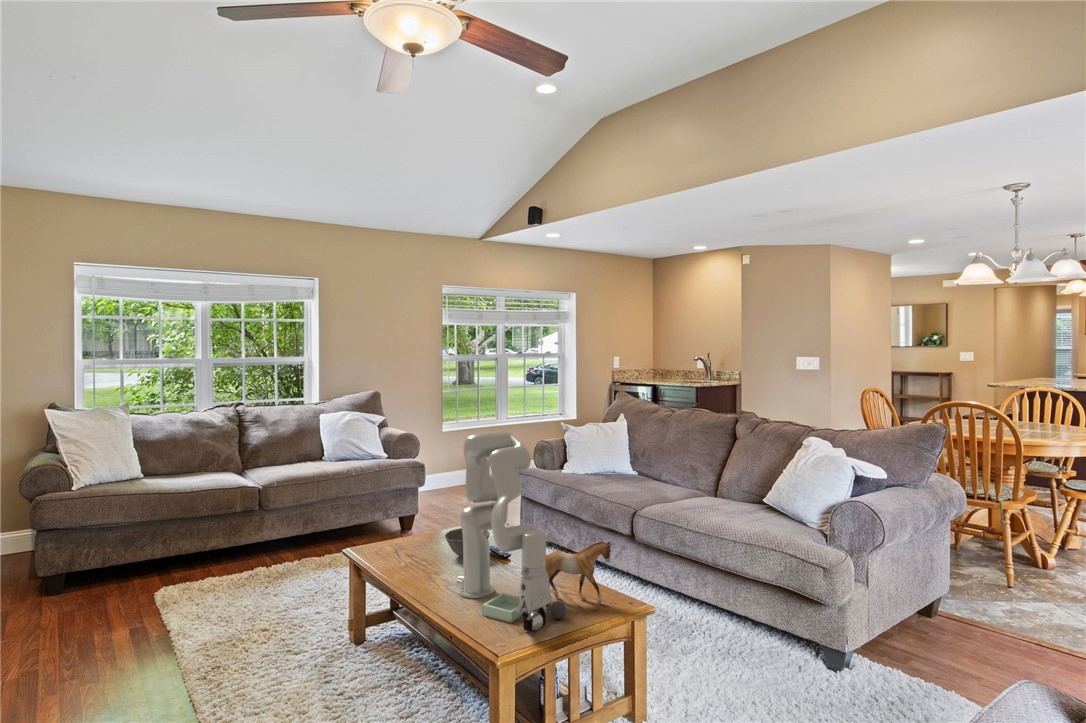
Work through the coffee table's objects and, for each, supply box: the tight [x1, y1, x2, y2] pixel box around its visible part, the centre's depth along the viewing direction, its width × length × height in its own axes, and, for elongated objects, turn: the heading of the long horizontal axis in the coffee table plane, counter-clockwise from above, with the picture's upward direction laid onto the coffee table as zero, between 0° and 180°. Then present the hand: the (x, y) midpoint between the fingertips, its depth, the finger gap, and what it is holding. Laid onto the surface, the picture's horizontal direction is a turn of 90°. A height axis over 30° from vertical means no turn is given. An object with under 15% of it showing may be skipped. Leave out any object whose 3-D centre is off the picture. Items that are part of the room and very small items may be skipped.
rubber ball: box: [549, 600, 568, 620], centre depth 212 cm, size 6×6×6 cm
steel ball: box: [530, 611, 543, 631], centre depth 204 cm, size 6×6×6 cm
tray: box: [481, 592, 528, 624], centre depth 217 cm, size 12×12×4 cm
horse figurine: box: [546, 541, 613, 605], centre depth 227 cm, size 31×8×21 cm, turn 81°
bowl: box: [444, 527, 490, 559], centre depth 275 cm, size 19×19×10 cm
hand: (534, 626), depth 204 cm, fingers closed on steel ball, 5 cm apart
